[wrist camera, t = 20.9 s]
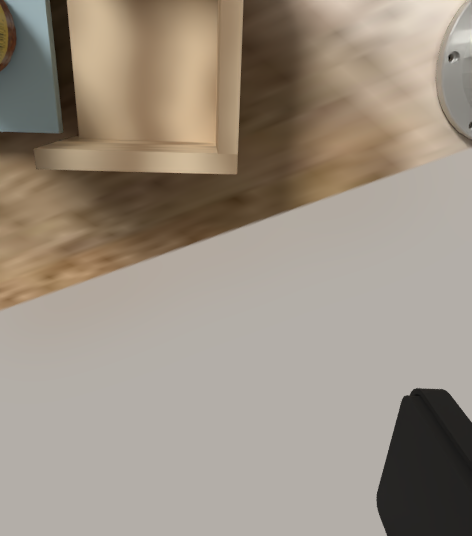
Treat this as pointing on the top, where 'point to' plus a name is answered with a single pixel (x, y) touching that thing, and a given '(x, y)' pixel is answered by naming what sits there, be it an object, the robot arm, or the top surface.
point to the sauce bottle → (6, 35)
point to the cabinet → (153, 87)
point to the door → (31, 73)
